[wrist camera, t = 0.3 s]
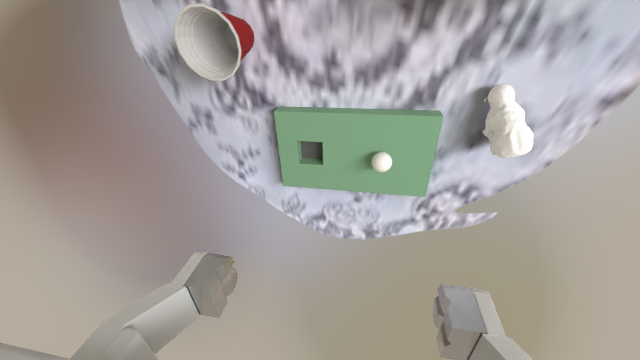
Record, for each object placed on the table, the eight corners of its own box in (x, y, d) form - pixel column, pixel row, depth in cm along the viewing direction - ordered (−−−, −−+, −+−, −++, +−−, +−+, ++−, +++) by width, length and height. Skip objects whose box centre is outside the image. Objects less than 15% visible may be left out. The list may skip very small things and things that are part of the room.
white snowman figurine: (498, 166, 46) (487, 97, 42) (483, 148, 53) (473, 88, 49) (542, 156, 44) (536, 82, 39) (521, 138, 51) (513, 75, 47)
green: (278, 106, 57) (273, 111, 54) (440, 110, 51) (443, 116, 49) (287, 178, 67) (283, 185, 64) (423, 189, 61) (425, 196, 59)
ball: (372, 147, 55) (371, 157, 51) (392, 149, 54) (393, 158, 51) (371, 165, 57) (370, 175, 54) (390, 166, 56) (391, 176, 53)
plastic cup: (214, 62, 54) (177, 75, 45) (210, -2, 48) (166, -4, 38) (266, 72, 54) (240, 88, 44) (268, 8, 47) (239, 10, 38)
